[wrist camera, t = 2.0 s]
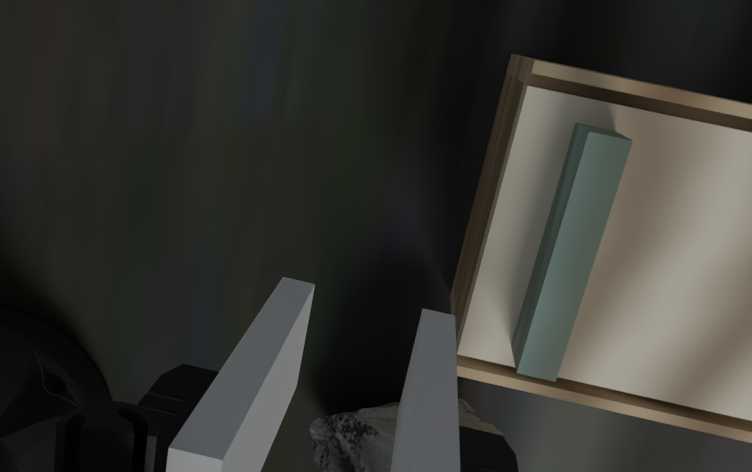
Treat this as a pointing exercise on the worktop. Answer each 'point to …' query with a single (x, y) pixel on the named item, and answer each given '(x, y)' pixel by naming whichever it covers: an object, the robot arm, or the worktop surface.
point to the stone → (369, 437)
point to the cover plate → (619, 254)
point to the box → (516, 76)
